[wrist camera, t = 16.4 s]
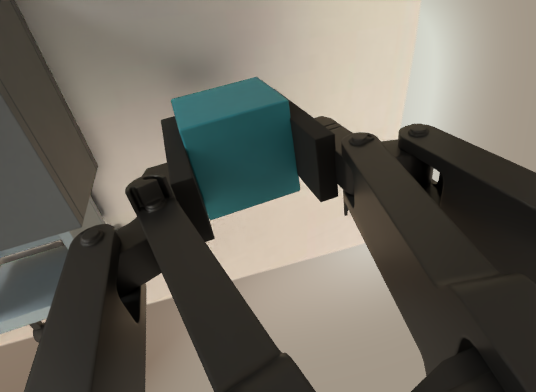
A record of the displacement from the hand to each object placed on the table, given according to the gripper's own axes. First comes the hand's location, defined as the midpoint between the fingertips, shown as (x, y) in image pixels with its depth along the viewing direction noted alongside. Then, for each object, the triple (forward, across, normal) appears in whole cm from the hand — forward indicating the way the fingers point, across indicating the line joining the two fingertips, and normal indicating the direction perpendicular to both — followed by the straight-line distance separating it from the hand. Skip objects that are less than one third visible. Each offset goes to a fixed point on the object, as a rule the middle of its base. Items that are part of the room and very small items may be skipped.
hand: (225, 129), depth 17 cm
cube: (0, 0, 0) cm, 0 cm away
